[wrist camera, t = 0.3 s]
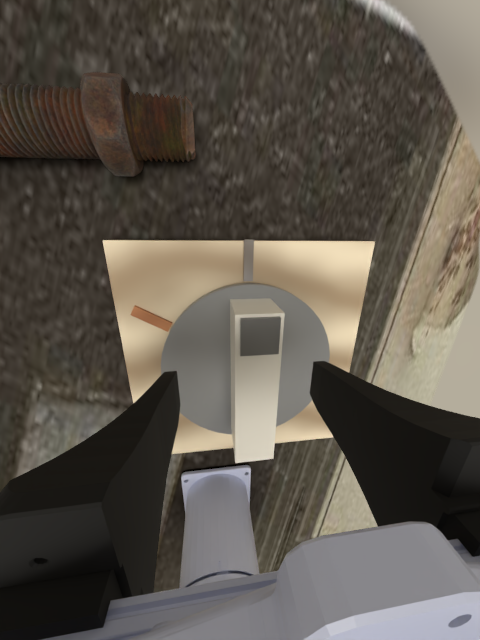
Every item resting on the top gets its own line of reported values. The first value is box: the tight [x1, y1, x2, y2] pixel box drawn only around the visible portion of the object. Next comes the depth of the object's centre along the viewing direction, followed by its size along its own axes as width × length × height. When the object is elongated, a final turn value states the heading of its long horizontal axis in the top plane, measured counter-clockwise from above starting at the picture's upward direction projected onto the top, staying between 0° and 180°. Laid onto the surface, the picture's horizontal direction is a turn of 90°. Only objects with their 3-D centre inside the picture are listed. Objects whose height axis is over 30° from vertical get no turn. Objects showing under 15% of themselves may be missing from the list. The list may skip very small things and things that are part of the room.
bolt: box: [0, 72, 196, 176], centre depth 13 cm, size 6×5×15 cm
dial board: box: [103, 239, 375, 454], centre depth 21 cm, size 20×20×2 cm
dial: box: [161, 283, 330, 463], centre depth 18 cm, size 14×14×5 cm
